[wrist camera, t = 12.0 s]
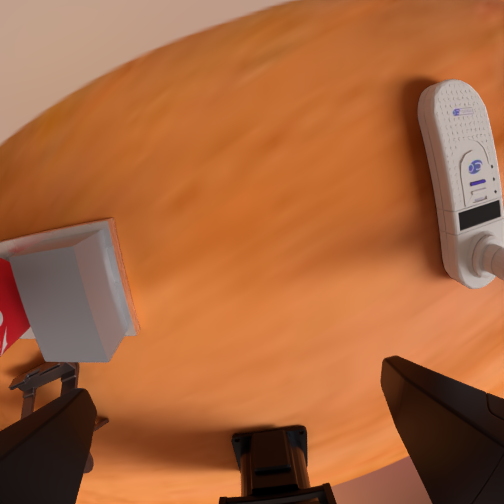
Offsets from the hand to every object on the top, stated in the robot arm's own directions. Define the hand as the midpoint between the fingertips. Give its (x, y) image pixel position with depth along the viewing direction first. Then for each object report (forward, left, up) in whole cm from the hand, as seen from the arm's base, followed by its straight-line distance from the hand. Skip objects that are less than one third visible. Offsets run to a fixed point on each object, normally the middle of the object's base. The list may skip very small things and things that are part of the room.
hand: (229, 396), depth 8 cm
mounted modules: (0, +18, -13) cm, 22 cm away
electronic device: (+4, -17, -13) cm, 21 cm away
